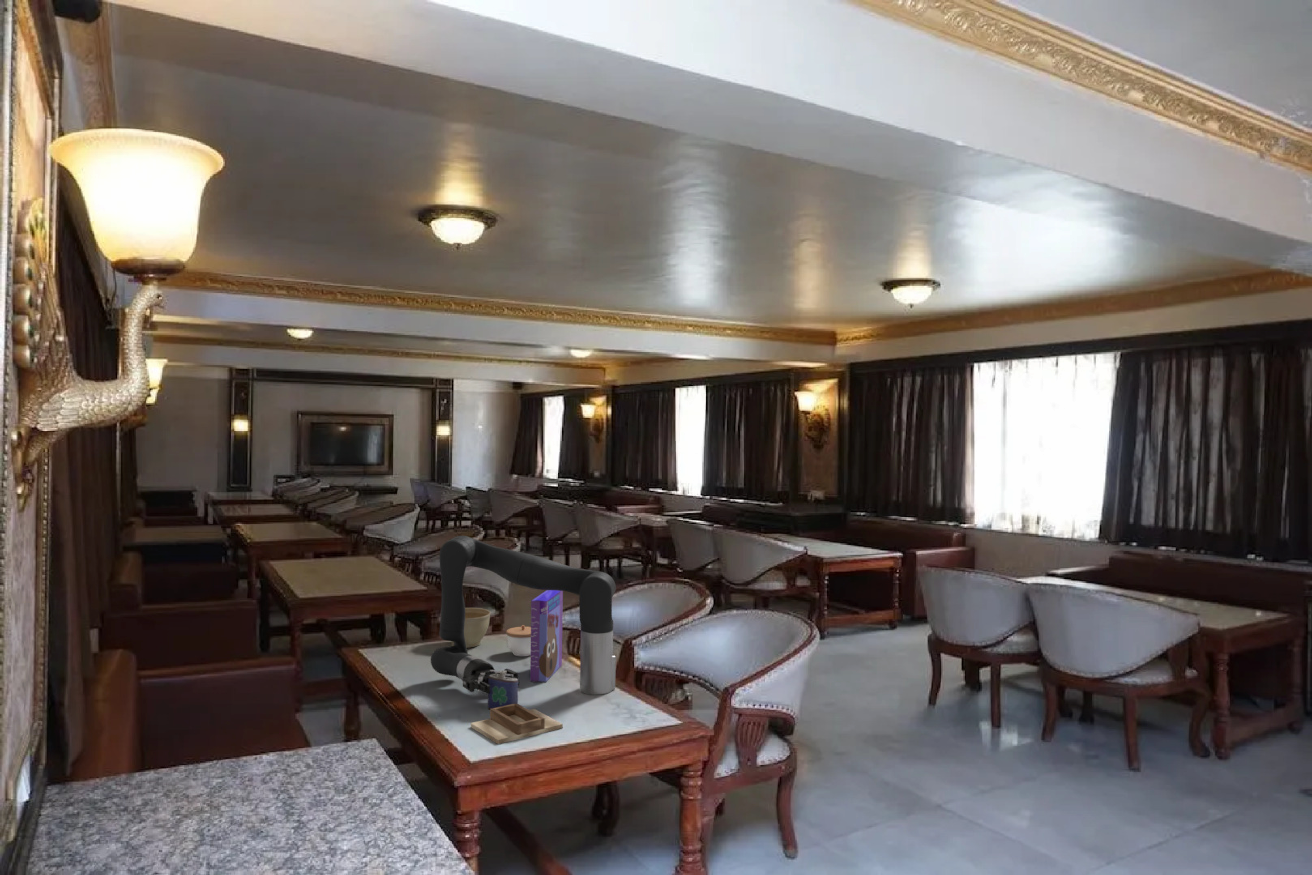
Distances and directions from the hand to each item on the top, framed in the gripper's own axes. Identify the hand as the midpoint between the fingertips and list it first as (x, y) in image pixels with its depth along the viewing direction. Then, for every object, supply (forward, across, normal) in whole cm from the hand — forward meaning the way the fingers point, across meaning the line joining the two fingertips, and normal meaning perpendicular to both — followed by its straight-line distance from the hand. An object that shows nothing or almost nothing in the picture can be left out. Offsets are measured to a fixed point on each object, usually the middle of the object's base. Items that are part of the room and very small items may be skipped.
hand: (503, 686), depth 225 cm
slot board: (+12, -3, +6) cm, 14 cm away
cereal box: (-23, +27, +7) cm, 36 cm away
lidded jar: (-46, +32, +7) cm, 56 cm away
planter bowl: (-67, +22, +7) cm, 70 cm away
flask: (0, 0, +7) cm, 7 cm away
